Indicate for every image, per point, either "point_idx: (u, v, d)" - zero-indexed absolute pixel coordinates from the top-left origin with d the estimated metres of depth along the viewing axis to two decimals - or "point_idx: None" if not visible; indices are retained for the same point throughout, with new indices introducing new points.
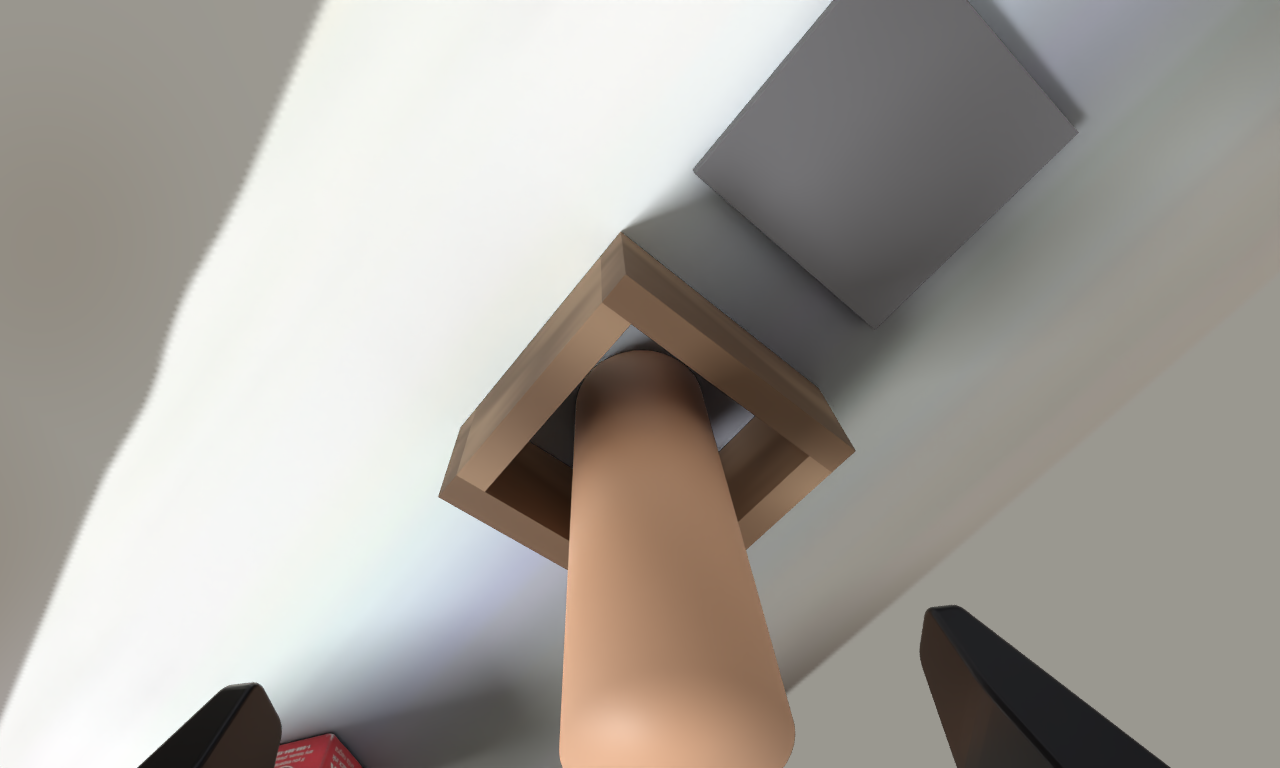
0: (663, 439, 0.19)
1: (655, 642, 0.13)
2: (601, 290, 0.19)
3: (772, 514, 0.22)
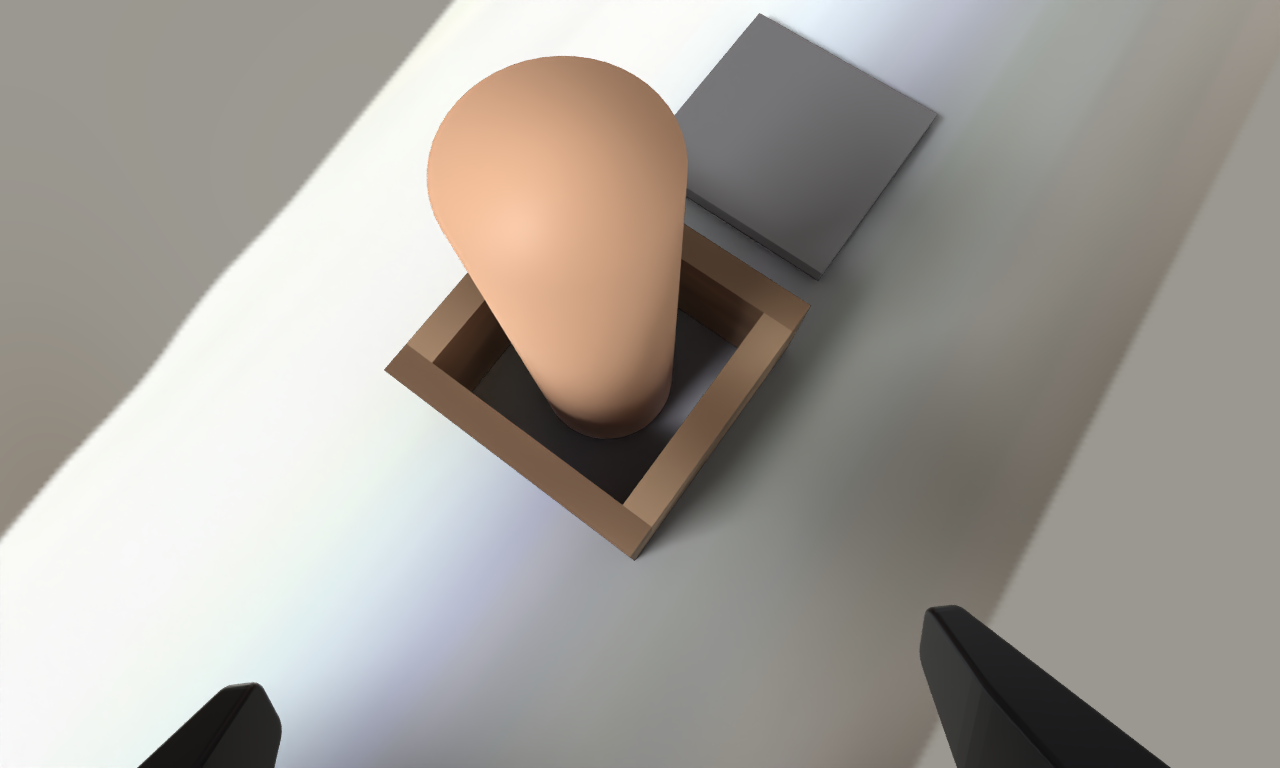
0: None
1: None
2: None
3: (739, 384, 0.20)
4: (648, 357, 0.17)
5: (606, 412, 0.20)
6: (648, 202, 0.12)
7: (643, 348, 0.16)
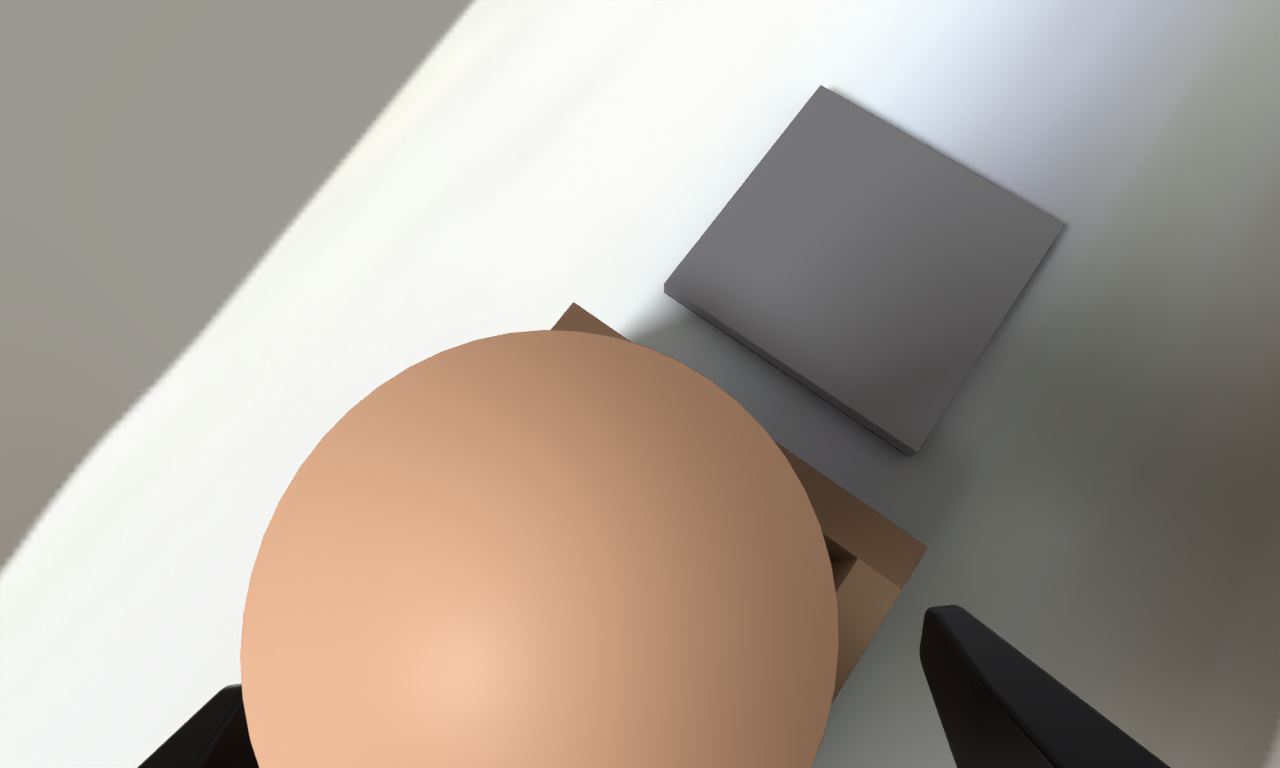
0: None
1: None
2: None
3: None
4: None
5: None
6: (752, 715, 0.05)
7: None
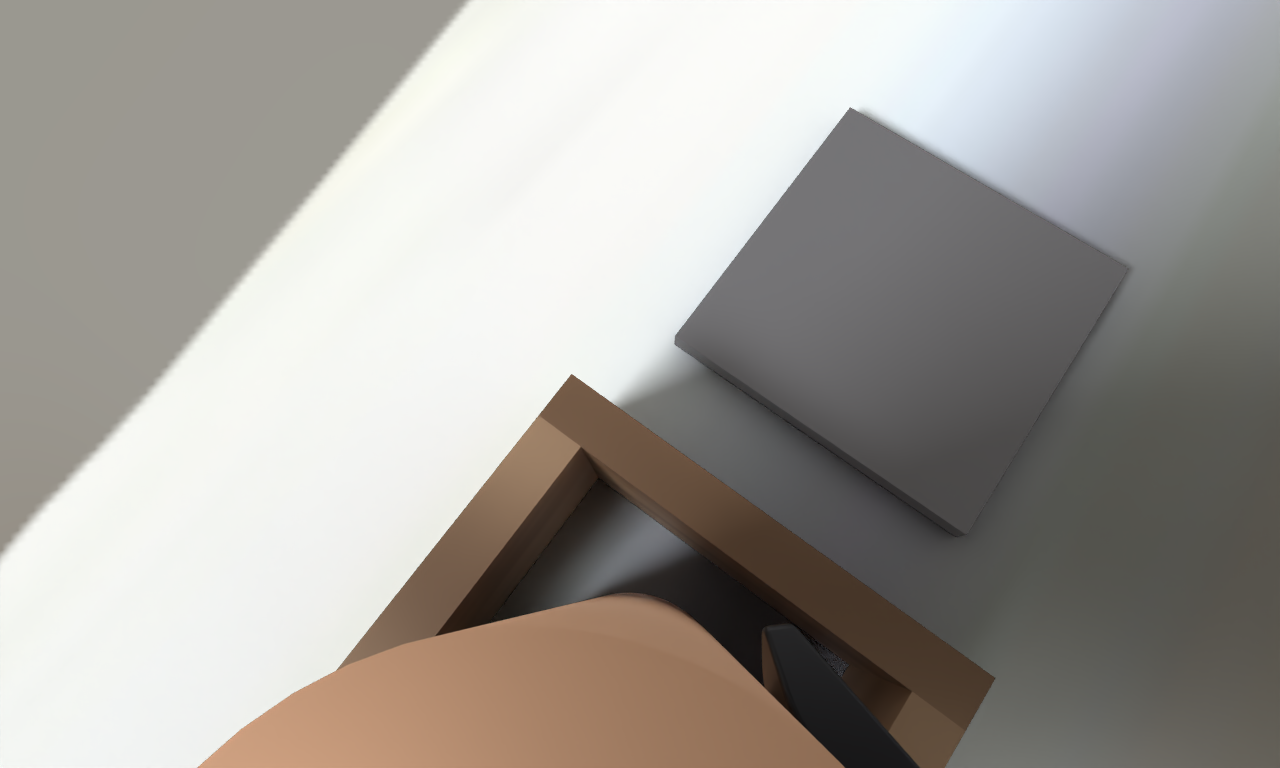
0: (626, 598, 0.11)
1: None
2: None
3: None
4: None
5: None
6: None
7: None
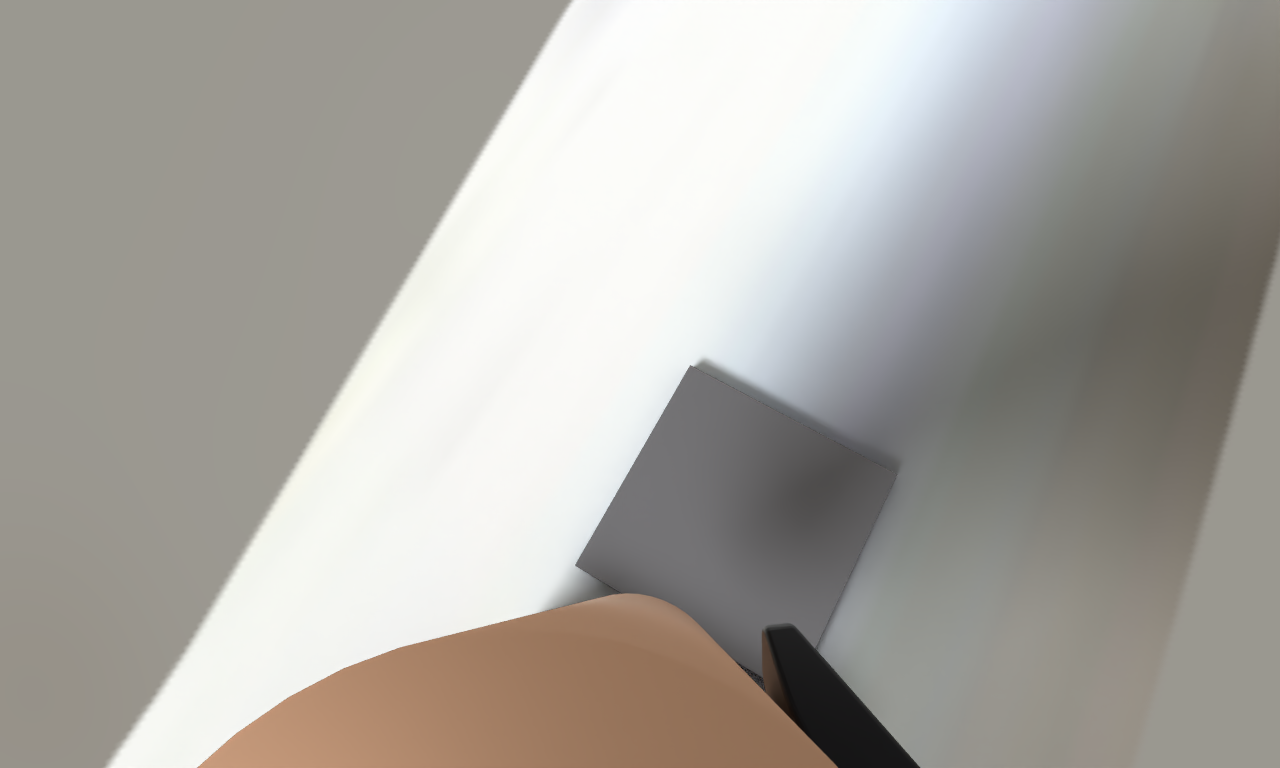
0: (624, 599, 0.11)
1: (451, 635, 0.04)
2: None
3: None
4: None
5: None
6: None
7: None
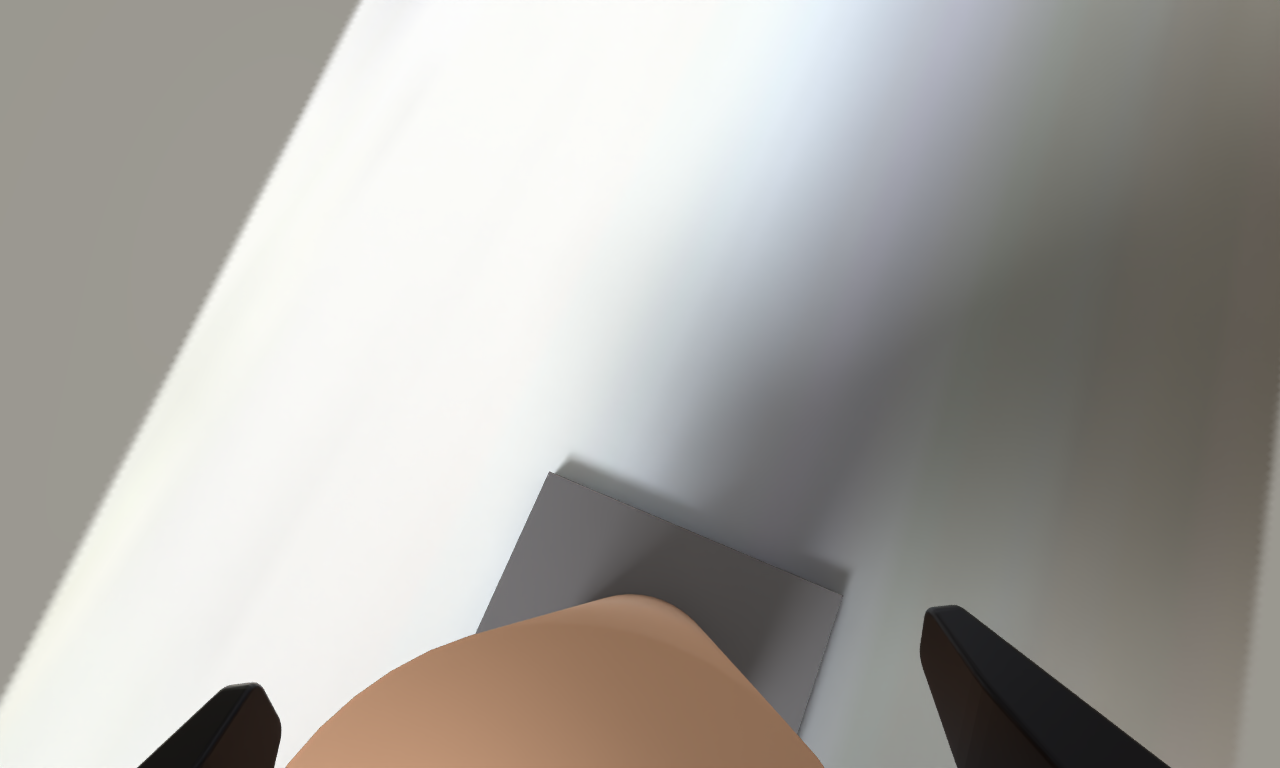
0: (628, 599, 0.12)
1: (502, 627, 0.06)
2: None
3: None
4: None
5: None
6: None
7: None
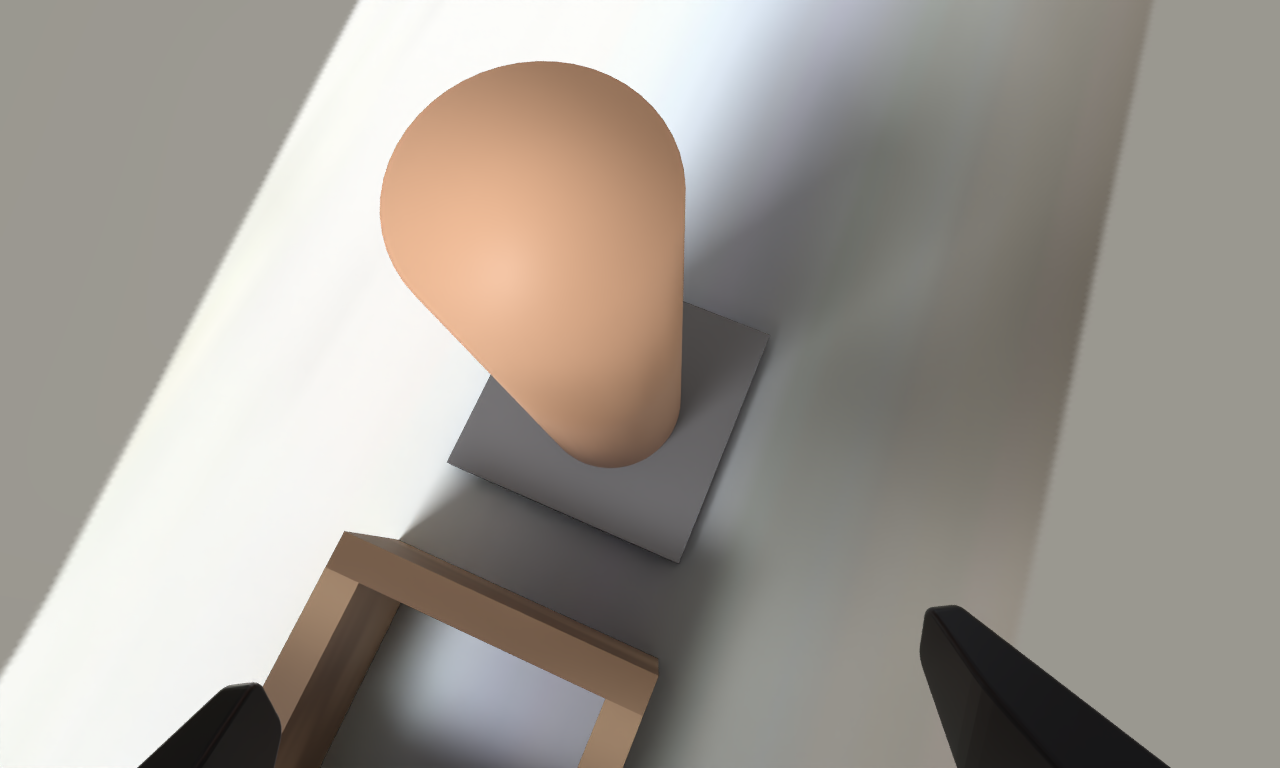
0: None
1: None
2: None
3: None
4: (648, 395, 0.15)
5: (605, 447, 0.19)
6: (638, 236, 0.10)
7: (641, 388, 0.14)
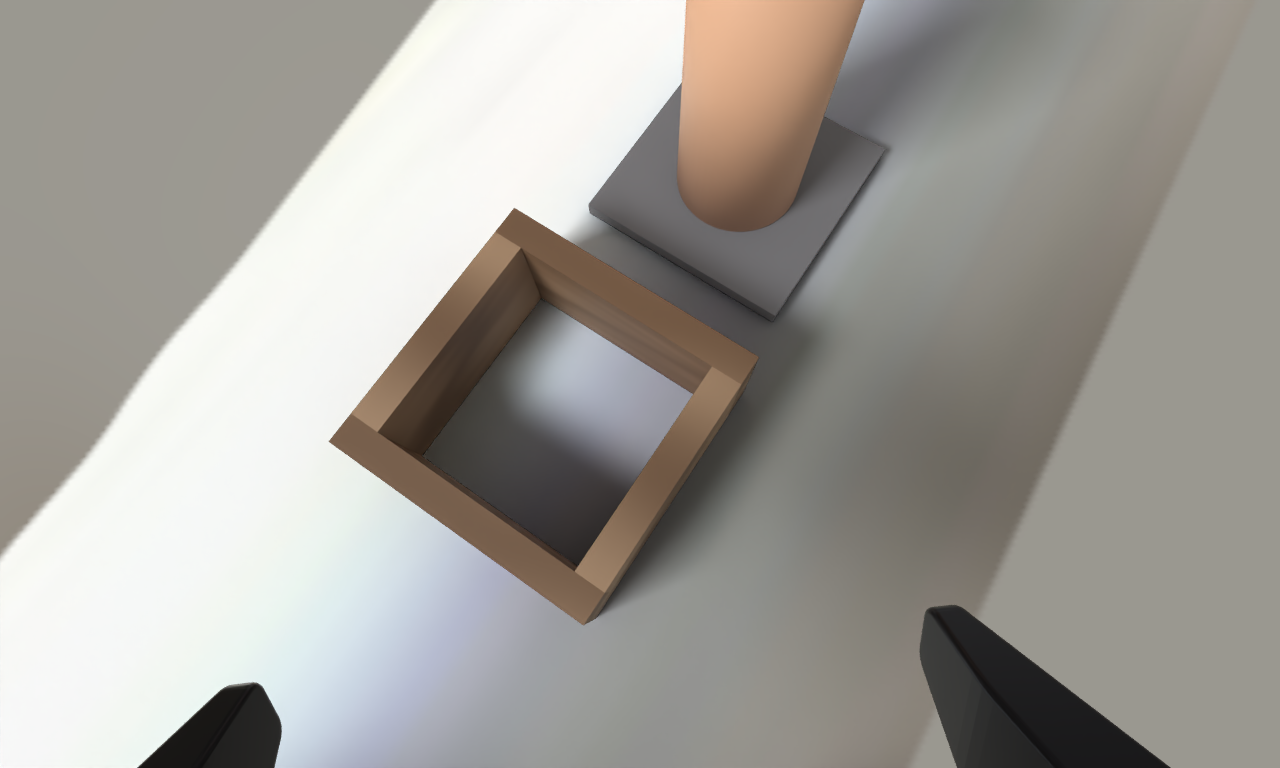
0: None
1: None
2: None
3: (689, 441, 0.20)
4: (813, 82, 0.19)
5: (746, 168, 0.22)
6: None
7: (817, 58, 0.18)
